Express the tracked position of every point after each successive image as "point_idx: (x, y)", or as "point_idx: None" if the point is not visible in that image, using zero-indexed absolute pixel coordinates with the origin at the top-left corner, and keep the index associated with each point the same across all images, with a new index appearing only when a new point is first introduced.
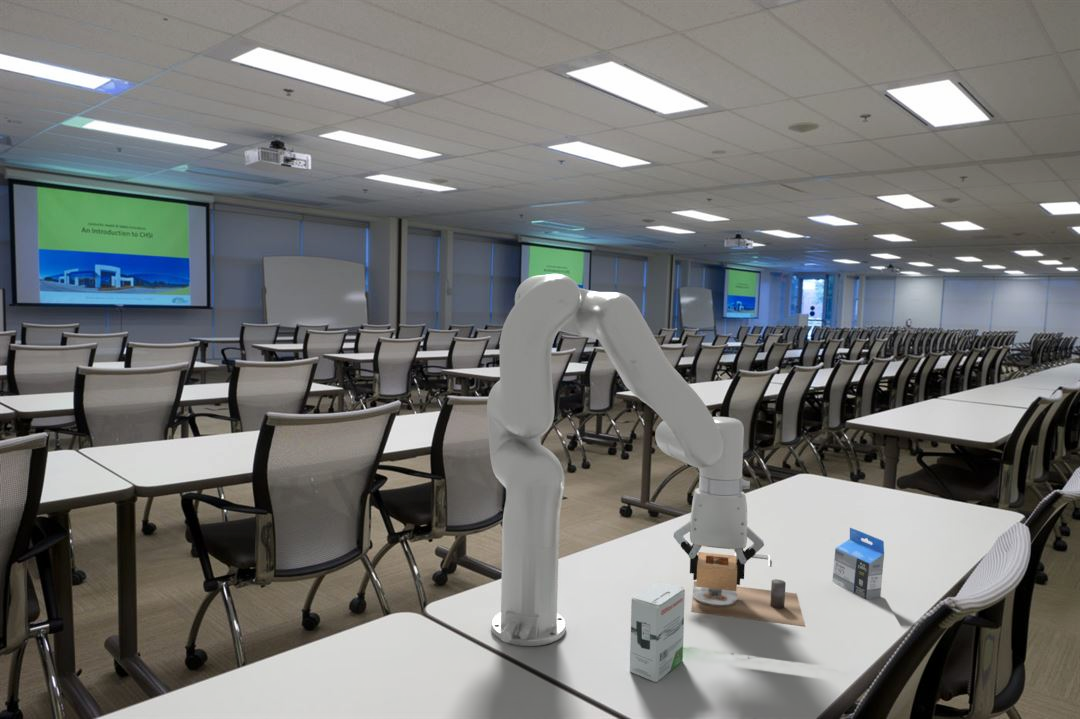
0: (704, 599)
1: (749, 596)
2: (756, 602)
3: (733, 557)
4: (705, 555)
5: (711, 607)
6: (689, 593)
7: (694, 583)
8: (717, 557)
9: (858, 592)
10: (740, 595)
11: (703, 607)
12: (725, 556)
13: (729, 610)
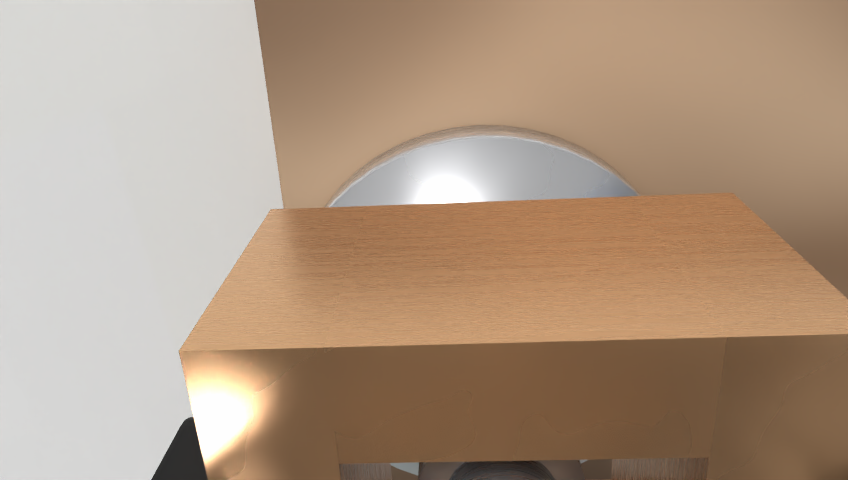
0: (405, 468)
1: (803, 168)
2: (840, 277)
3: (807, 421)
4: (326, 464)
5: None
6: (253, 91)
7: (265, 29)
8: (525, 449)
9: None
10: (718, 177)
11: (406, 476)
12: (666, 411)
13: (594, 469)
